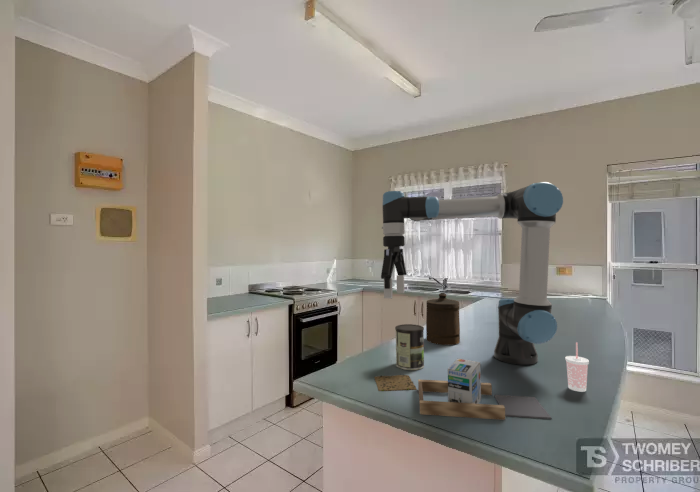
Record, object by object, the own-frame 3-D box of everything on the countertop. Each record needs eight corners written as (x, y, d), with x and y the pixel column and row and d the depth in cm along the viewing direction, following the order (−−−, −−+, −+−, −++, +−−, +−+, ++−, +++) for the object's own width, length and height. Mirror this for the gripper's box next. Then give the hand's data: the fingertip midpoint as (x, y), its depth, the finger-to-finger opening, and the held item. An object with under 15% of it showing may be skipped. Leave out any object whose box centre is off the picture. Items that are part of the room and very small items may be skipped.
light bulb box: (473, 414, 91) (472, 373, 91) (447, 408, 94) (446, 368, 94) (481, 399, 100) (481, 361, 100) (457, 394, 104) (457, 357, 104)
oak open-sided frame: (490, 393, 104) (490, 383, 104) (505, 419, 88) (505, 407, 88) (418, 389, 107) (418, 379, 107) (419, 414, 91) (419, 402, 91)
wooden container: (458, 337, 166) (458, 291, 166) (461, 346, 151) (460, 295, 151) (426, 336, 169) (426, 290, 169) (426, 344, 155) (425, 294, 155)
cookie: (373, 377, 118) (373, 375, 118) (408, 376, 119) (408, 373, 119) (378, 392, 106) (377, 389, 106) (417, 391, 107) (417, 388, 107)
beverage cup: (561, 384, 109) (560, 339, 109) (581, 384, 109) (580, 339, 109) (573, 392, 103) (572, 345, 103) (594, 392, 103) (593, 345, 103)
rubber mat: (534, 398, 100) (534, 397, 100) (551, 419, 88) (551, 417, 88) (493, 396, 102) (493, 394, 102) (505, 416, 90) (505, 414, 90)
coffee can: (424, 361, 132) (423, 324, 132) (424, 371, 122) (423, 331, 122) (396, 360, 134) (396, 323, 134) (394, 369, 124) (394, 330, 124)
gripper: (394, 236, 137) (395, 290, 137) (370, 235, 114) (371, 300, 114) (413, 235, 133) (414, 291, 134) (392, 234, 111) (393, 301, 111)
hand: (394, 295), depth 124 cm, fingers open, 13 cm apart
